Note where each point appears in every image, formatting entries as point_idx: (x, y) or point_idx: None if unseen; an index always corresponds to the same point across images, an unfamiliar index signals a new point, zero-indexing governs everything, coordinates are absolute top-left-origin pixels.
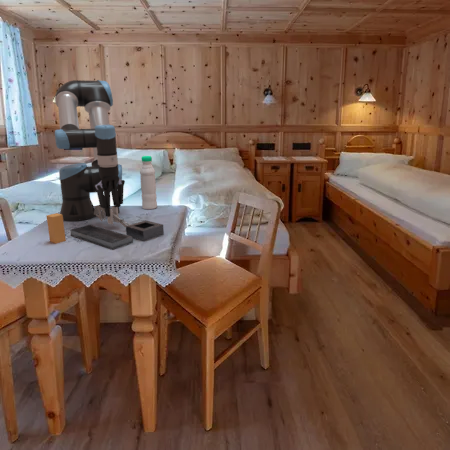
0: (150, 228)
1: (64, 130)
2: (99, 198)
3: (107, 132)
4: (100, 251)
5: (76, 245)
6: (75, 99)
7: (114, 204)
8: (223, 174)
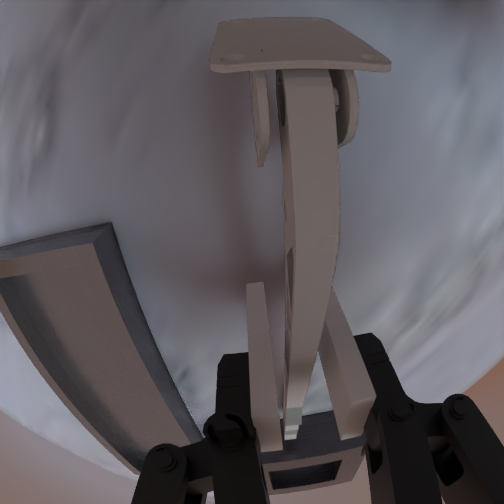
0: (290, 491)
1: None
2: None
3: None
4: (103, 446)
5: (31, 375)
6: None
7: (378, 429)
8: None
